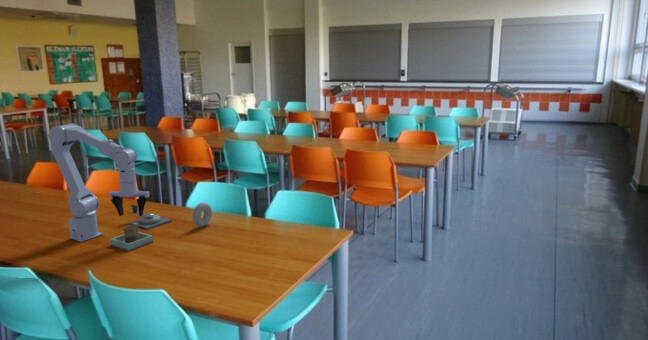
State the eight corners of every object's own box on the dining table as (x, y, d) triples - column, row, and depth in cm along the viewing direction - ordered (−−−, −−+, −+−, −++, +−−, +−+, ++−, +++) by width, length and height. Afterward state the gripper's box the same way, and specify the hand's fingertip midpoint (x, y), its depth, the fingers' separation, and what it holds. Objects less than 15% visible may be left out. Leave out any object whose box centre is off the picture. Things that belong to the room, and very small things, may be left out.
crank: (155, 216, 204) (154, 206, 203) (150, 218, 201) (149, 208, 200) (135, 213, 208) (134, 203, 208) (129, 215, 206) (128, 205, 205)
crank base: (147, 229, 196) (147, 224, 195) (129, 224, 202) (128, 219, 202) (171, 221, 206) (171, 216, 205) (153, 216, 212) (152, 211, 211)
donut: (197, 230, 194) (196, 206, 192) (191, 229, 196) (189, 205, 194) (214, 223, 203) (213, 200, 201) (208, 221, 205) (206, 199, 202)
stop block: (136, 243, 179) (135, 228, 178) (125, 244, 179) (123, 228, 178) (139, 239, 183) (137, 224, 182) (128, 240, 183) (126, 225, 181)
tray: (128, 251, 174) (128, 244, 173) (111, 245, 179) (110, 239, 179) (153, 241, 182) (152, 235, 182) (135, 236, 188) (135, 230, 187)
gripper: (150, 178, 185) (153, 212, 188) (113, 178, 185) (117, 212, 188) (143, 182, 178) (147, 217, 181) (105, 182, 178) (108, 217, 181)
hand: (131, 215), depth 184 cm, fingers open, 7 cm apart
